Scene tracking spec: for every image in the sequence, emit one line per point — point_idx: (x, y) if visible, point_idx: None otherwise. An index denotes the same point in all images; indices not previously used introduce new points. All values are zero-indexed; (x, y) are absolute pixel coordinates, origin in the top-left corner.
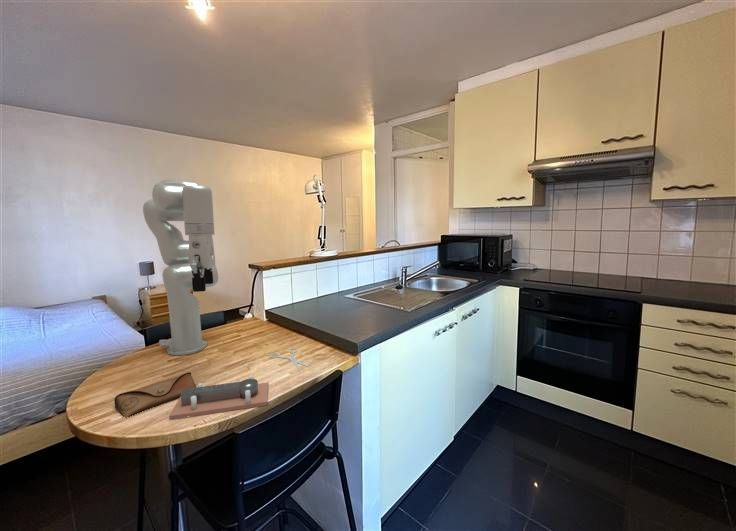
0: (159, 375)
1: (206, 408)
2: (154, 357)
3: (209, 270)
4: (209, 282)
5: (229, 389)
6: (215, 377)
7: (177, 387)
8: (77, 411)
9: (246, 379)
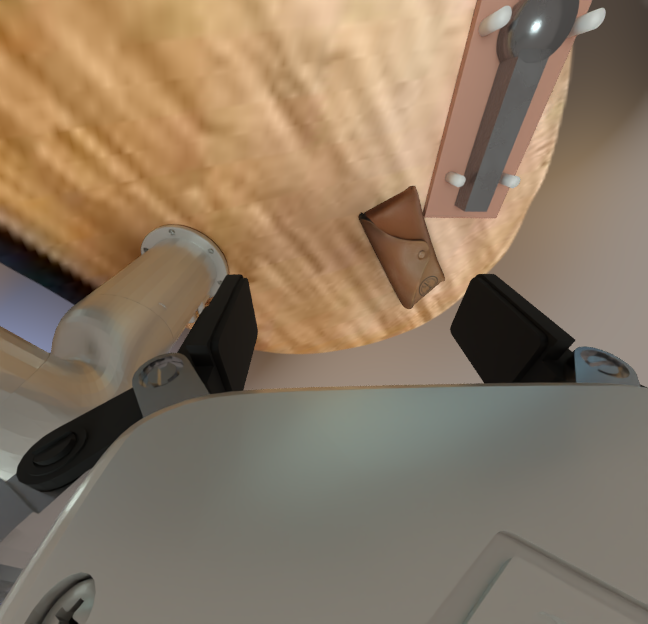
0: (314, 278)
1: (517, 150)
2: None
3: (202, 372)
4: (248, 297)
5: (532, 92)
6: (361, 161)
7: (411, 230)
8: (391, 334)
9: (517, 33)
